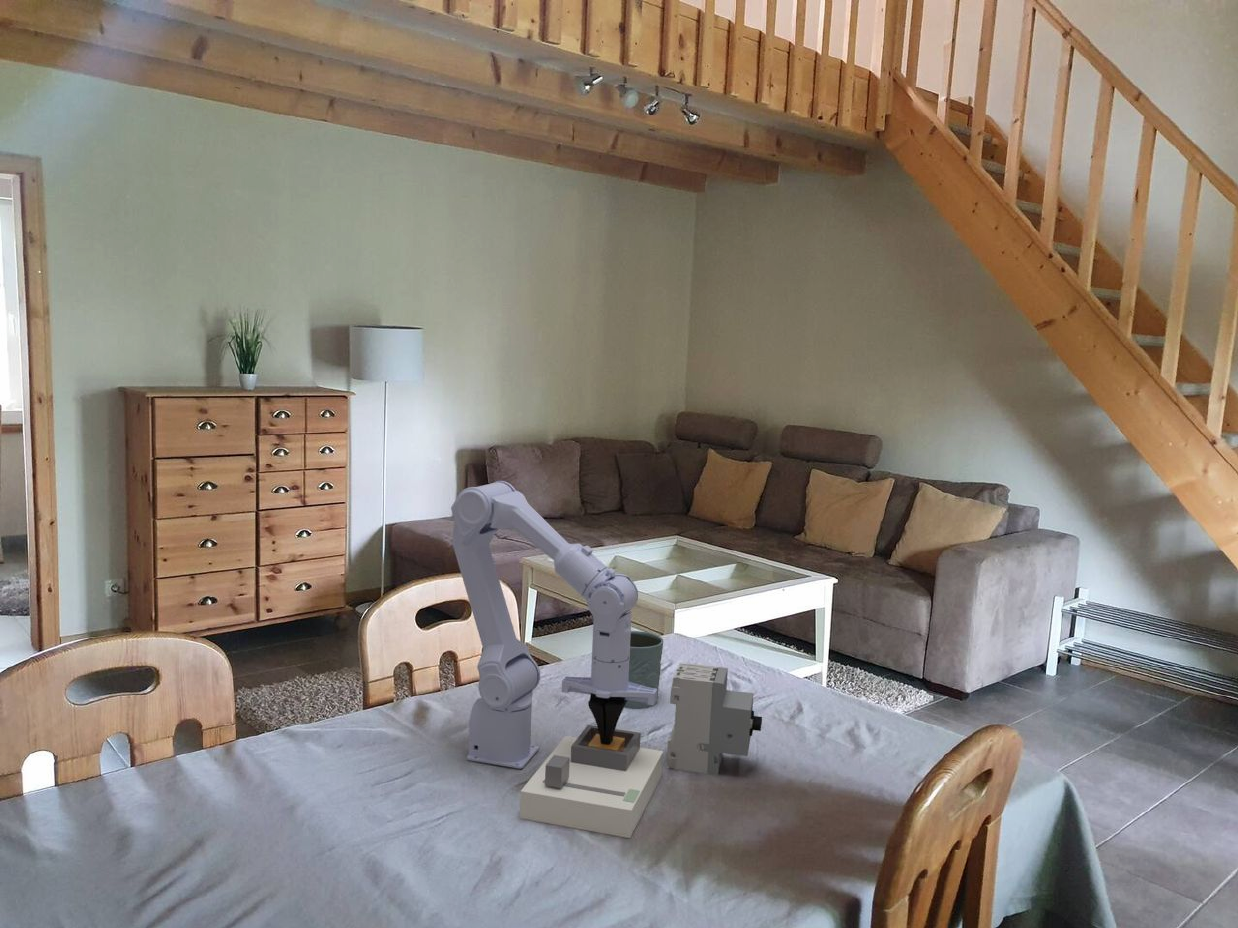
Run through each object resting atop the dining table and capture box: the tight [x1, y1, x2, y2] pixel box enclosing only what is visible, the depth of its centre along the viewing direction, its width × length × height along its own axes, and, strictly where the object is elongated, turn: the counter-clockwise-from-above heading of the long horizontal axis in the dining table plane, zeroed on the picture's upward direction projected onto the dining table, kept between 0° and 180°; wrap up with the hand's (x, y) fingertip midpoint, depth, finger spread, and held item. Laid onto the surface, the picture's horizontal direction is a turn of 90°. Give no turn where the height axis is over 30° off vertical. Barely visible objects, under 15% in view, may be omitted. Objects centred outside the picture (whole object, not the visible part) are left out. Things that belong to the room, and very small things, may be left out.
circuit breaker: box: [666, 662, 763, 776], centre depth 153 cm, size 8×14×15 cm, turn 78°
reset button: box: [588, 734, 625, 752], centre depth 146 cm, size 5×5×2 cm
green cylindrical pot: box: [624, 630, 664, 710], centre depth 179 cm, size 10×10×12 cm
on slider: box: [545, 755, 570, 788], centre depth 136 cm, size 2×4×3 cm, turn 165°
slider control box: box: [519, 724, 664, 839], centre depth 141 cm, size 16×20×6 cm
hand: (606, 742), depth 146 cm, fingers closed, pressing on reset button
